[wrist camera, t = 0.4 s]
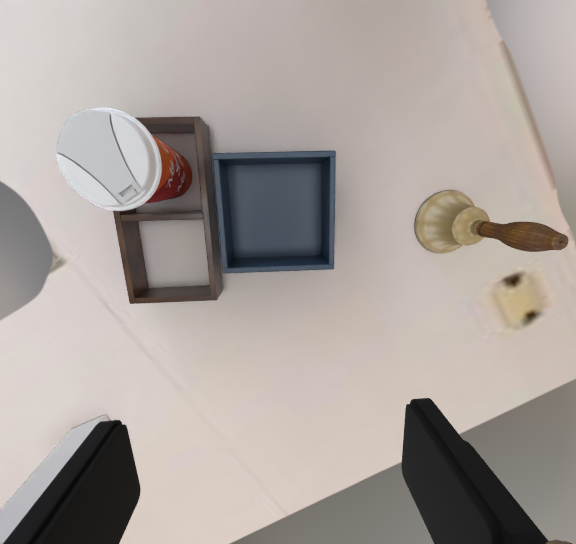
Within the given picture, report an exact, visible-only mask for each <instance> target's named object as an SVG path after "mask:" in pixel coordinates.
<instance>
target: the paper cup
mask: <svg viewBox="0 0 576 544" xmlns="http://www.w3.org/2000/svg"><path fill="white" fill-rule="evenodd" d="M56 157H57V162H58V166H59V168H60V171H61V173H62V175H63V177H64V178H65V180H66V181H67V183H68V184H69V185H70V186H71V187H72V189H73V190H74V191H76V192H77V193H78V194H79V195H80V196H82V197H84V198H85V199H86V200H88V201H89V202H91V203H92V204H94V205H96V206H98V207H101V208H104V209H107V210H113V211H125V210H131V209H134V208H136V207H139V206H140V205H142V204H144V203H151V202H158V201H162V200H167V199H172V198H176V197H179V196H181V195H183V194H184V193H185V192H186V191H187V190H188V188H189V187H190V184H191V181H192V172H191V169H190V166H189V164H188V162H187V161H186V160H185V159H184V157H182V156H181V155H180V154H179V153H178V152H176V151H175V150H174V149H172V148H171V147H169V146H168V145H166V144H165V143H164V142H162V141H161V140H159V139H158V138H156V137H155V136H153V135H152V134H151V133H150V132H149V131H148V130H147V128H146V127H145V126H144V125H143V124H142V123H141V122H140V121H138V120H137V119H135V118H134V117H133V116H131V115H129V114H127V113H125V112H123V111H120V110H117V109H112V108H94V109H87V110H82V111H79V112H77V113H76V114H74V115H73V116H71V117H70V118H69V119H68V120H67V122H66V123H65V125H64V127H63V128H62V130H61V132H60V134H59V138H58V142H57V149H56Z"/></svg>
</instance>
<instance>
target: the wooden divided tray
mask: <svg viewBox="0 0 576 544" xmlns="http://www.w3.org/2000/svg"><path fill="white" fill-rule="evenodd" d="M135 119H137V120H138V121H140V122H141V123H142V124H143V125H144V126H145V127H146V128H147V130H148V131H149V132H150V133H195V140H196V150H197V160H198V170H199V180H200V190H201V200H202V210H203V212H170V213H137V214H136V208H134V209H131V210H125V211H113V212H114V218H115V224H116V229H117V235H118V240H119V246H120V252H121V257H122V263H123V268H124V274H125V280H126V285H127V291H128V296H129V302H130V304H134V303H159V302H183V301H207V300H217V299H218V298H219V296H220V294H221V292H222V291H223V287H222V276H221V264H220V253H219V242H218V231H217V219H216V208H215V197H214V186H213V174H212V163H211V152H210V141H209V129H208V125H207V124H206V123H205V122H204V121H203V120H202V119H201V118H200V117H148V118H135ZM187 219H203V220H204V230H205V240H206V250H207V260H208V270H209V280H210V286H196V287H171V288H149V289H148V284H147V277H146V271H145V265H144V258H143V252H142V246H141V239H140V233H139V227H138V221H154V220H187Z"/></svg>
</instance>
